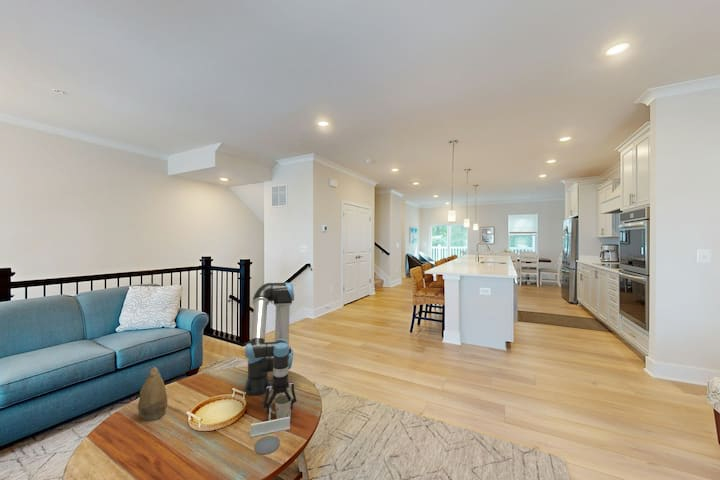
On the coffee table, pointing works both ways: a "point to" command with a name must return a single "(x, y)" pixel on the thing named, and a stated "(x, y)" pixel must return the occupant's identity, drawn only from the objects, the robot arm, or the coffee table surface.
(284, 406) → the mug
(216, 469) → the coffee table surface
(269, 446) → the coaster
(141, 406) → the sculpture
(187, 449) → the coffee table surface
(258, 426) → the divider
